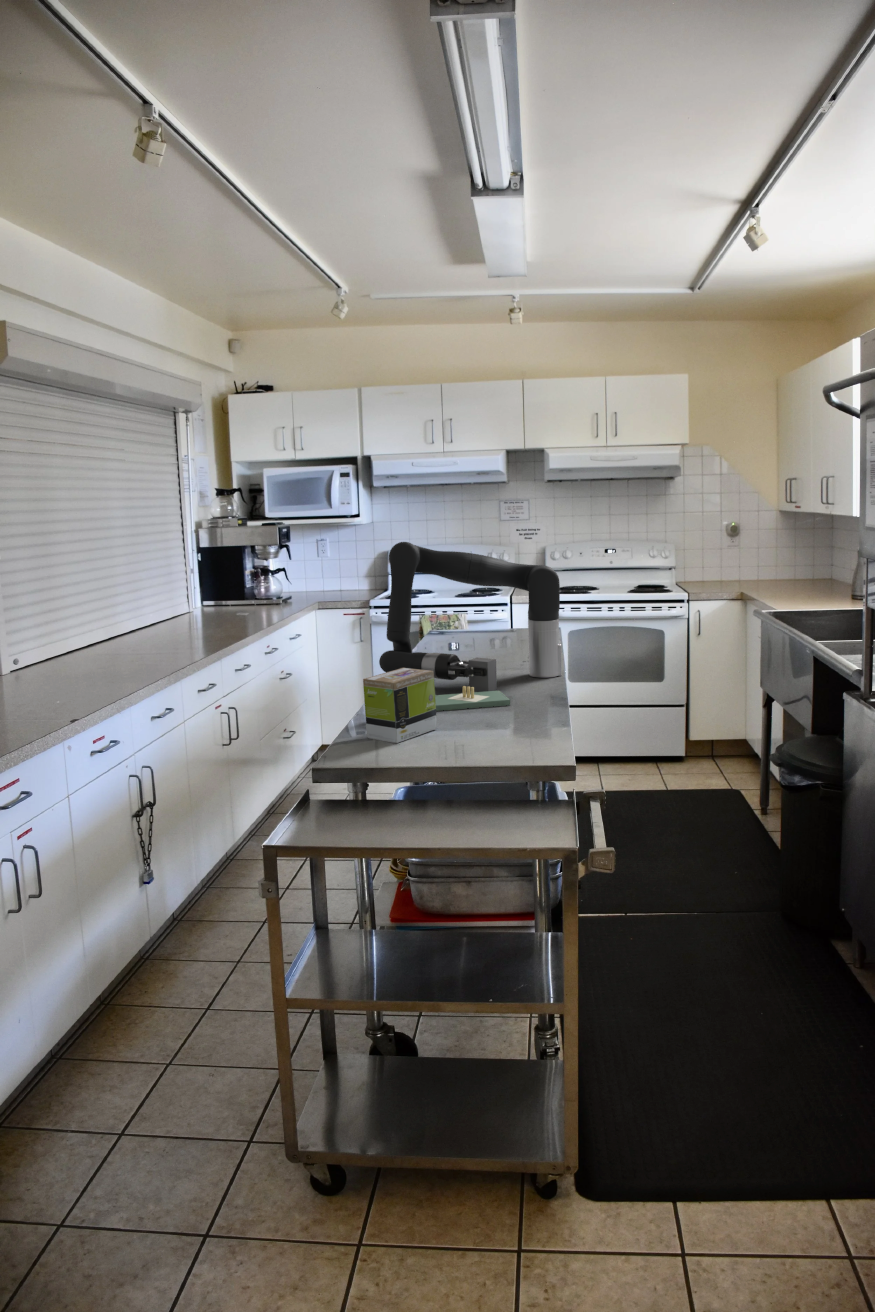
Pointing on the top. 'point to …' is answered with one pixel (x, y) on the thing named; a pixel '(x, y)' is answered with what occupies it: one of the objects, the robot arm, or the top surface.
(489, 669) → the dark grey rectangular block
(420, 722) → the tea box
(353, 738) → the top surface
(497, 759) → the top surface
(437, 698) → the board
